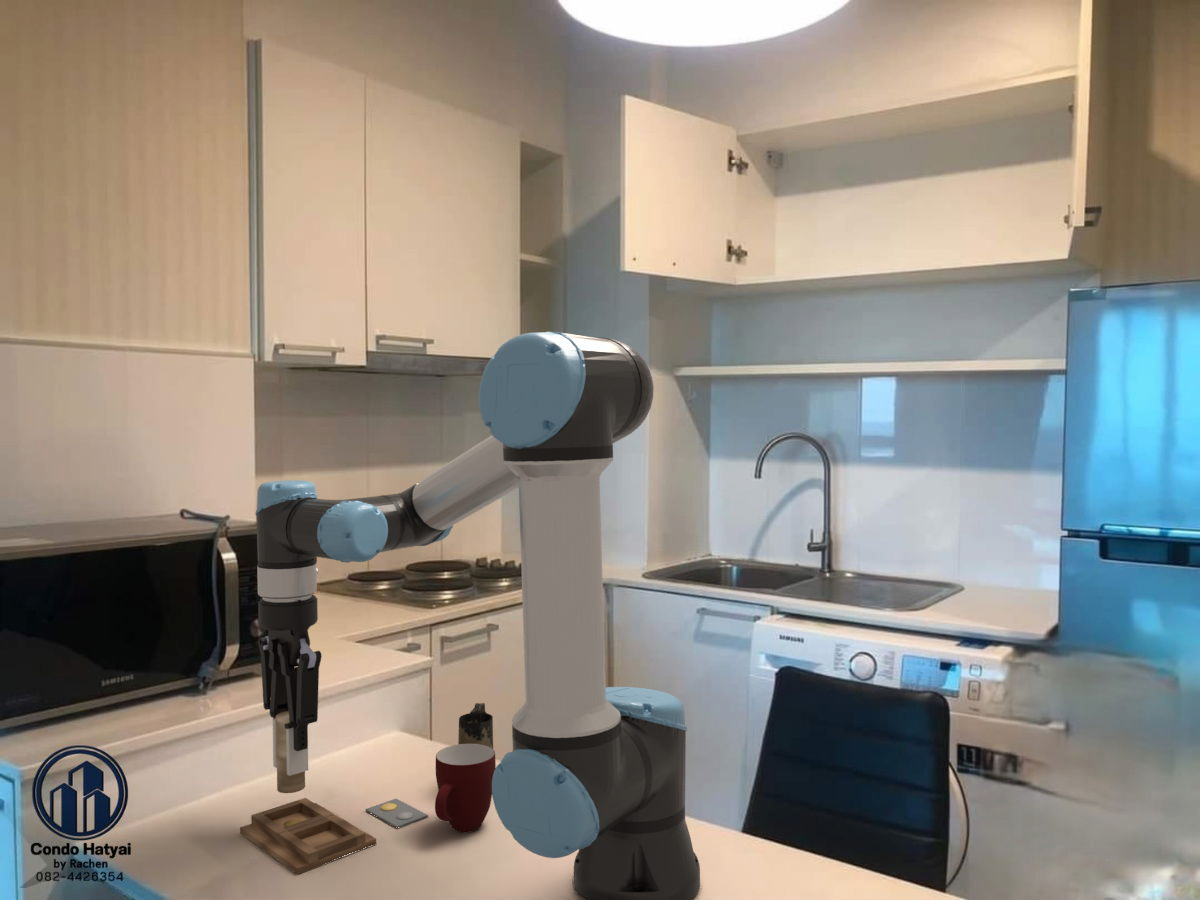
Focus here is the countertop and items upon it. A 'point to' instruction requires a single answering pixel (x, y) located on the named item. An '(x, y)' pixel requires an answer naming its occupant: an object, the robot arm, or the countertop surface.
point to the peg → (285, 760)
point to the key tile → (397, 813)
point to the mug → (464, 785)
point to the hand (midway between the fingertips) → (290, 767)
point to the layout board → (304, 835)
